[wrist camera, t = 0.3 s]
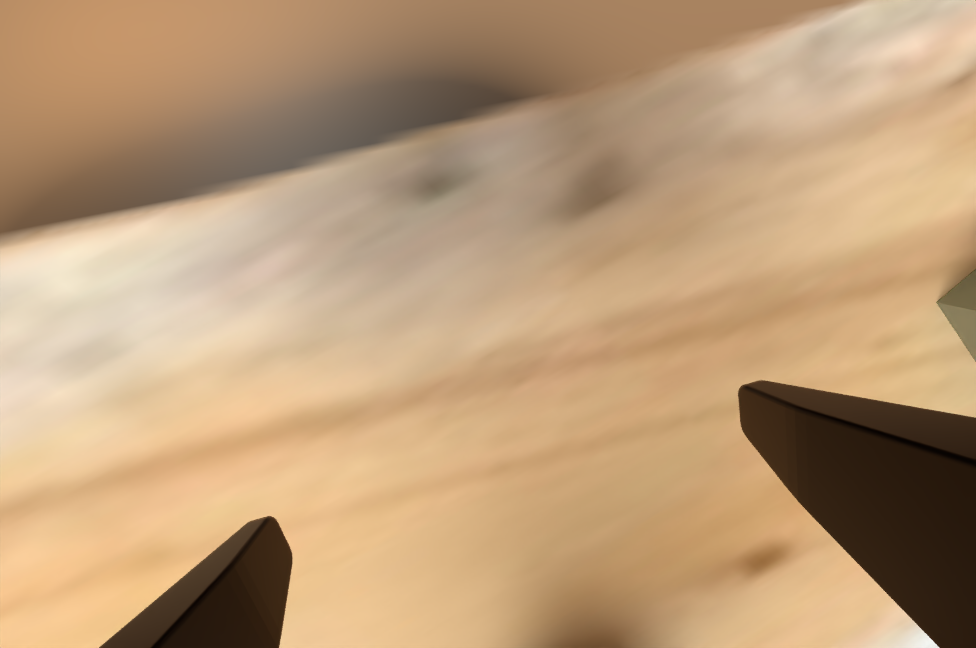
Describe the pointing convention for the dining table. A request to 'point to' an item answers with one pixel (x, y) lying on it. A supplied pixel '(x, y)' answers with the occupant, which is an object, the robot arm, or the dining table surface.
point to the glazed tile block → (962, 311)
